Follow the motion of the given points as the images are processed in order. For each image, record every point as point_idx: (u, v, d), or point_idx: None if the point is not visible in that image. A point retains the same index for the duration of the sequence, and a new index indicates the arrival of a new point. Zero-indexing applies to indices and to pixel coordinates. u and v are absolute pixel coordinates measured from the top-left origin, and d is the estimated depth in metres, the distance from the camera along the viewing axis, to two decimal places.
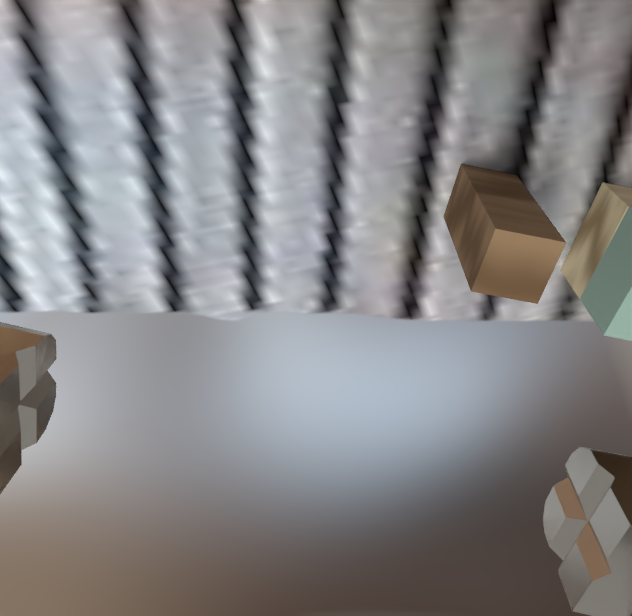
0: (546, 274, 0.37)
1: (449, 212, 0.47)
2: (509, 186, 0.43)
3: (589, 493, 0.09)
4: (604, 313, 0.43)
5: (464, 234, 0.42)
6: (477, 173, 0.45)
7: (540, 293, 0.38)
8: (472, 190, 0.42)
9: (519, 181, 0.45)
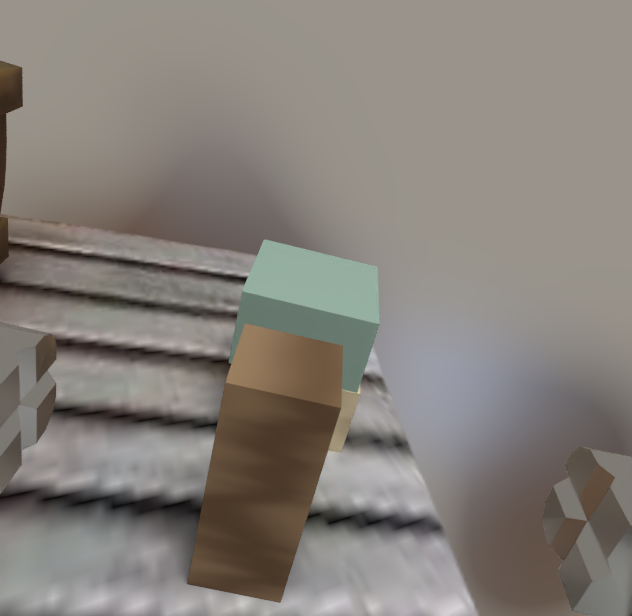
0: (295, 338, 0.26)
1: (266, 581, 0.28)
2: None
3: (589, 493, 0.09)
4: (354, 336, 0.34)
5: (275, 497, 0.25)
6: None
7: (326, 343, 0.26)
8: (206, 511, 0.26)
9: None
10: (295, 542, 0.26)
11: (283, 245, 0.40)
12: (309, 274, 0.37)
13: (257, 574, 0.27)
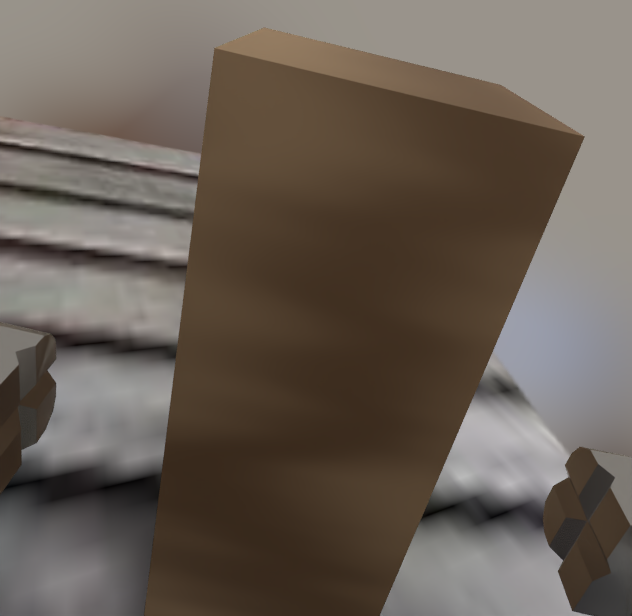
0: (389, 59, 0.11)
1: None
2: None
3: (589, 493, 0.09)
4: None
5: (352, 444, 0.10)
6: None
7: (461, 75, 0.11)
8: (172, 484, 0.10)
9: None
10: (394, 559, 0.11)
11: None
12: None
13: None
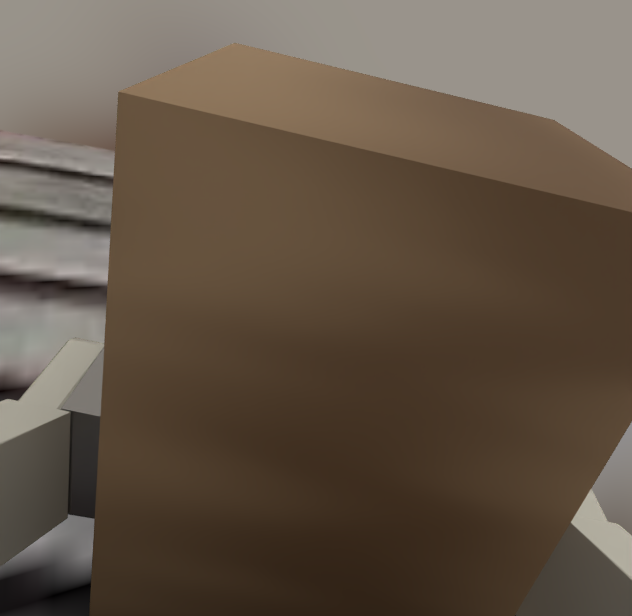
0: (404, 86, 0.08)
1: None
2: None
3: None
4: None
5: None
6: None
7: (502, 108, 0.08)
8: None
9: None
10: None
11: None
12: None
13: None
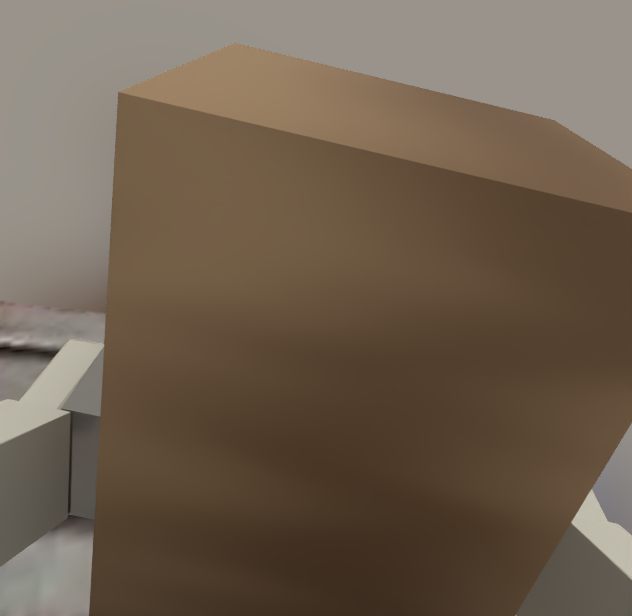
0: (404, 86, 0.08)
1: None
2: None
3: None
4: None
5: None
6: None
7: (502, 108, 0.08)
8: None
9: None
10: None
11: None
12: None
13: None
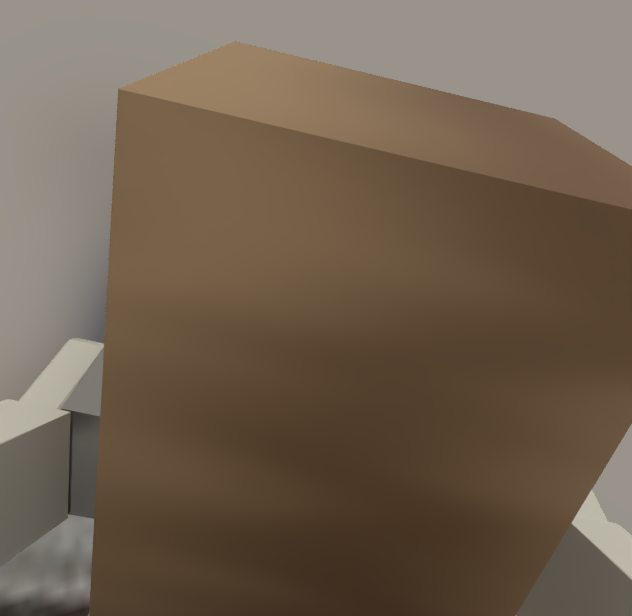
0: (405, 84, 0.08)
1: None
2: None
3: None
4: None
5: None
6: None
7: (503, 106, 0.08)
8: None
9: None
10: None
11: None
12: None
13: None
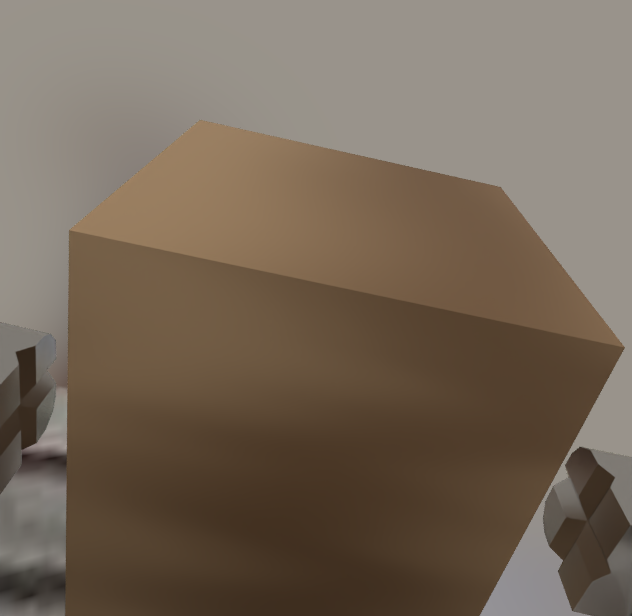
0: (358, 160, 0.08)
1: None
2: None
3: (589, 493, 0.09)
4: None
5: None
6: None
7: (451, 177, 0.09)
8: None
9: None
10: None
11: None
12: None
13: None
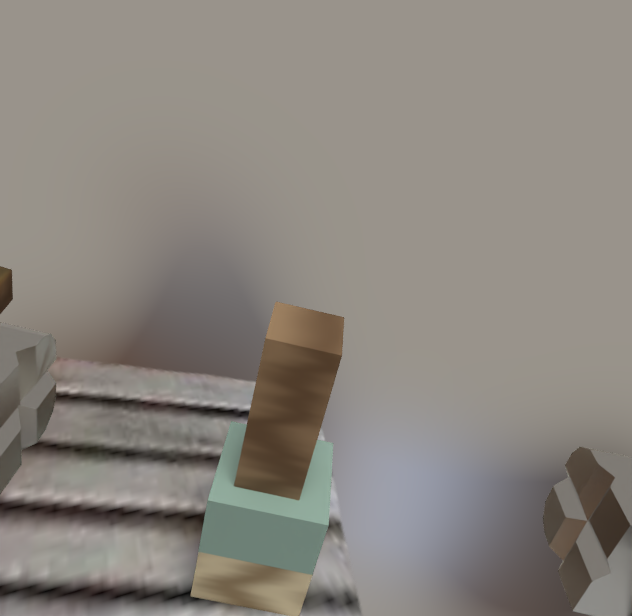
0: (311, 312, 0.38)
1: (289, 484, 0.39)
2: None
3: (589, 493, 0.09)
4: (307, 533, 0.39)
5: (297, 420, 0.37)
6: None
7: (332, 315, 0.38)
8: (249, 430, 0.37)
9: None
10: (310, 453, 0.38)
11: None
12: None
13: (283, 478, 0.39)
